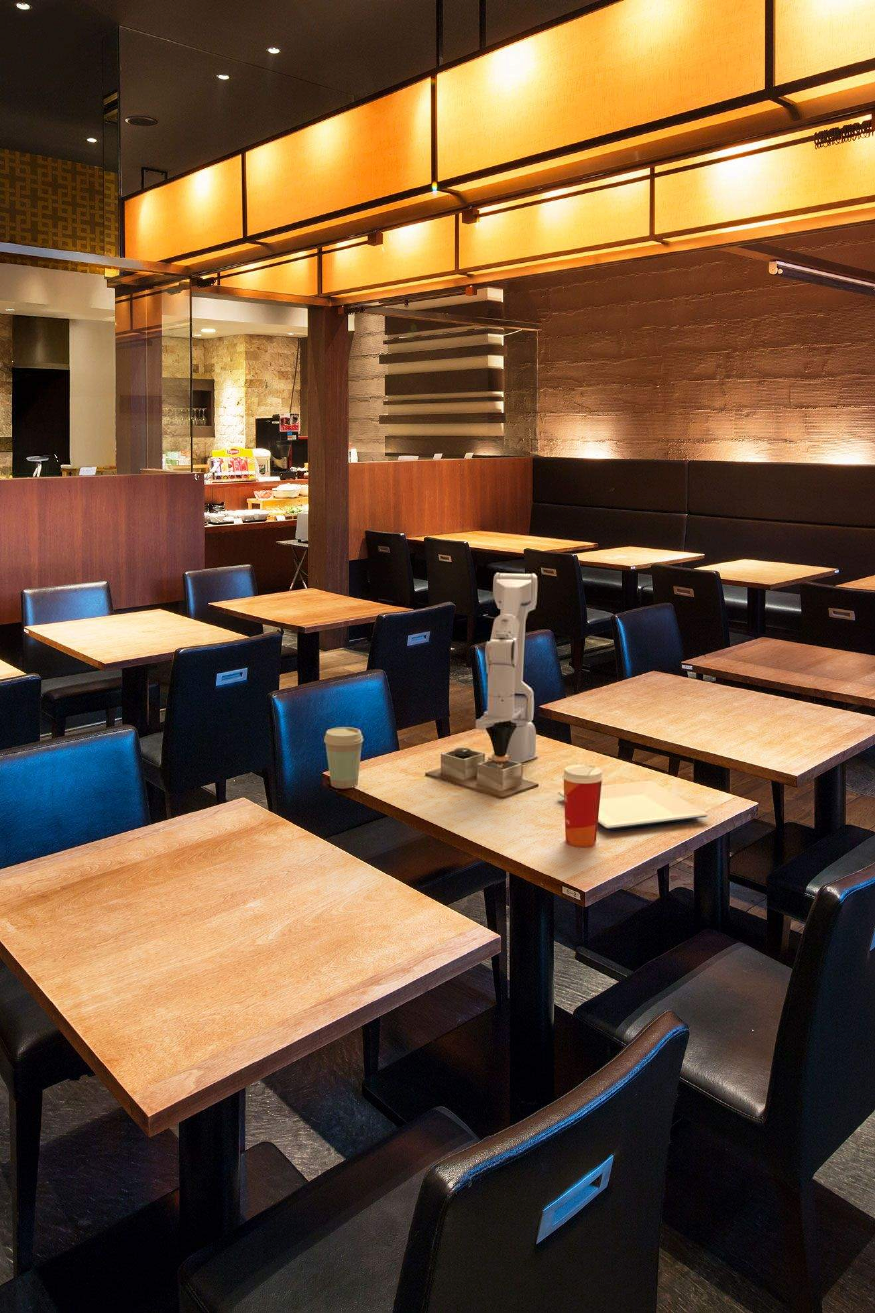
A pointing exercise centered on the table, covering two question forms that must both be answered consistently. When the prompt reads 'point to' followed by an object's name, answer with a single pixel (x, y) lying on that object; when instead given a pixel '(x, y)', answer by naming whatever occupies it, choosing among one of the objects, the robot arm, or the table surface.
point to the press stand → (482, 774)
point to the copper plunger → (500, 760)
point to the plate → (641, 805)
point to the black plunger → (462, 753)
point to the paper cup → (581, 804)
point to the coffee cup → (343, 755)
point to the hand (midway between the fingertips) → (500, 755)
